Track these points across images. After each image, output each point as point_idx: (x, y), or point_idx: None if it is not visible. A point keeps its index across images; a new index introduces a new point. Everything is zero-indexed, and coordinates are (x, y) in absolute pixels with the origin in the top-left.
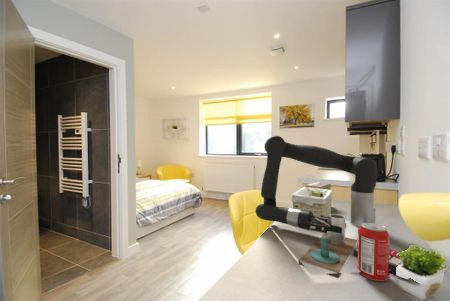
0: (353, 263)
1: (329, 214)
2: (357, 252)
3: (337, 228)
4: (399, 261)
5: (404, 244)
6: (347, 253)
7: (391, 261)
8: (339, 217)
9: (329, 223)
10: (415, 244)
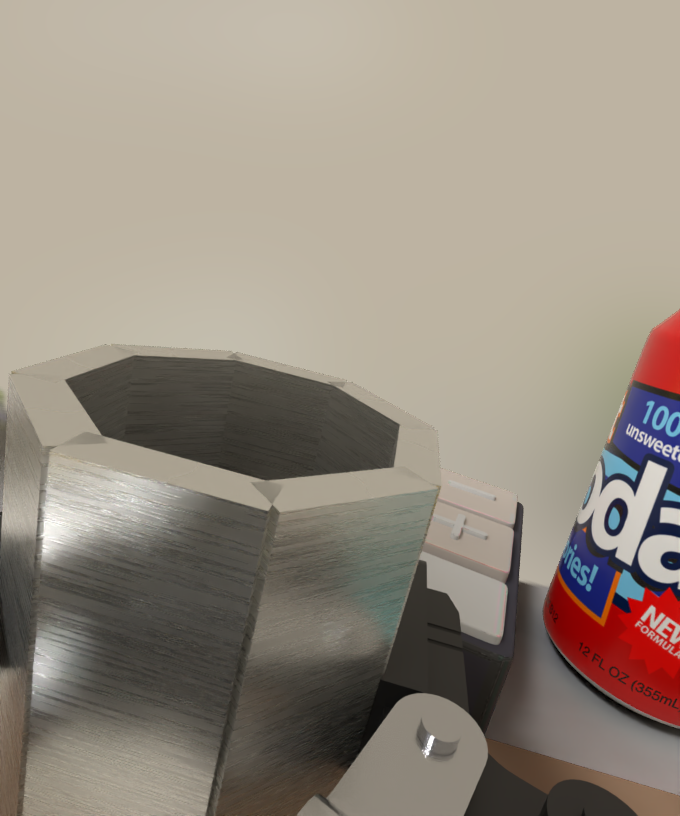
0: (561, 757)
1: (93, 459)
2: (511, 646)
3: (448, 615)
4: (468, 488)
5: (6, 418)
6: (497, 759)
7: (498, 514)
8: (116, 411)
9: (311, 701)
10: (3, 392)
